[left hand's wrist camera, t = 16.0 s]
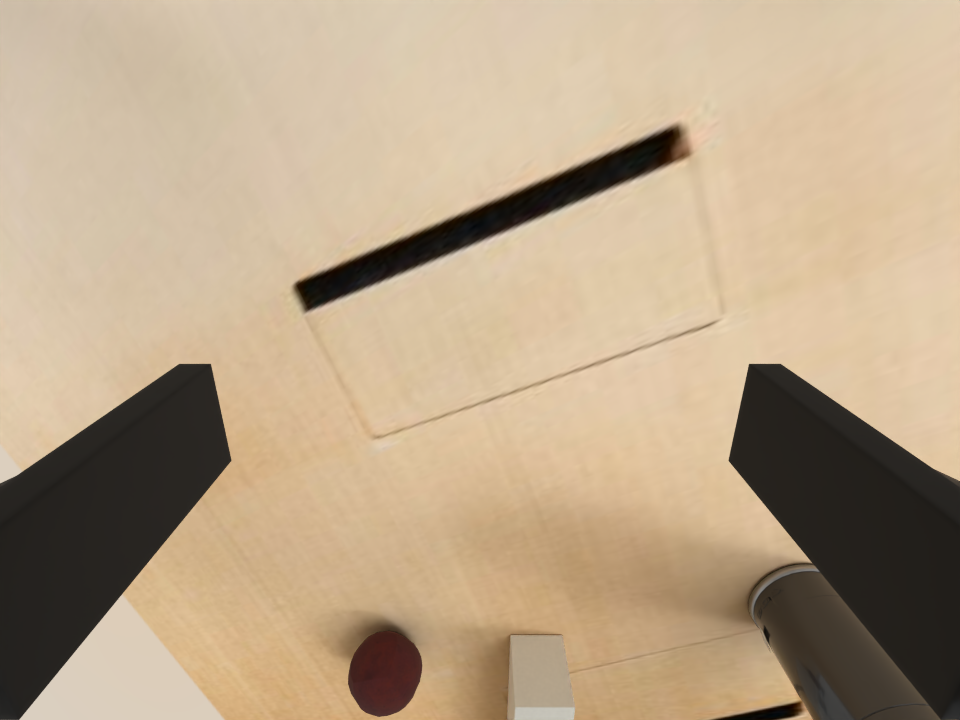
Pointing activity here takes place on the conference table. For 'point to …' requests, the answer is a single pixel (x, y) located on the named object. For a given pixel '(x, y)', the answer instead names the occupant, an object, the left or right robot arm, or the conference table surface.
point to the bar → (539, 679)
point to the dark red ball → (384, 673)
